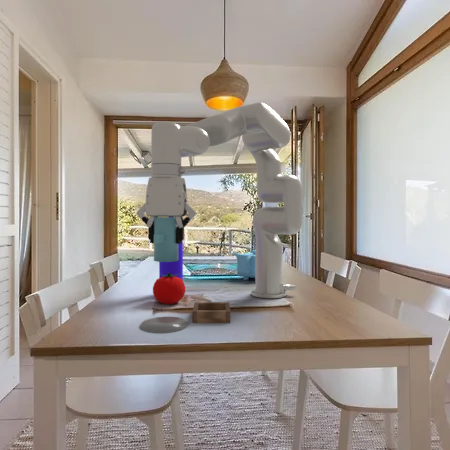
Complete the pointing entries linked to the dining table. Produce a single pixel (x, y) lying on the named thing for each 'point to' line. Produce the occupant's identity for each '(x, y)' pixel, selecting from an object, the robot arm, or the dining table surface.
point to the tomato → (169, 289)
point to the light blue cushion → (246, 264)
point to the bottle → (173, 265)
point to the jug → (165, 239)
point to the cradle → (211, 312)
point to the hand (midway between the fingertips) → (166, 242)
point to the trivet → (164, 324)
